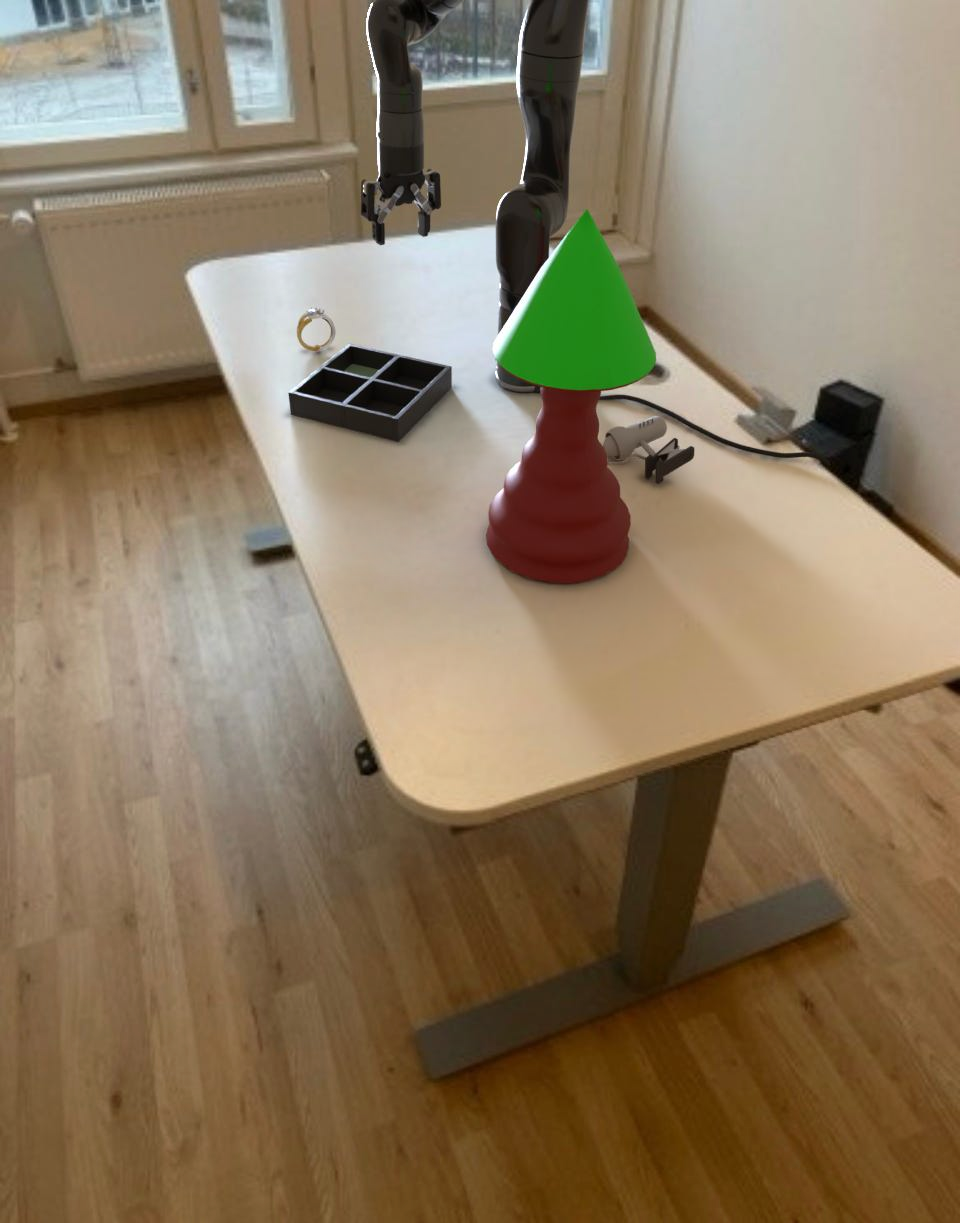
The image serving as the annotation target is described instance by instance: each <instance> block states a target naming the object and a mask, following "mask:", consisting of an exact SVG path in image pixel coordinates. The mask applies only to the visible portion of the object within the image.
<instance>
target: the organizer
mask: <svg viewBox="0 0 960 1223" xmlns="http://www.w3.org/2000/svg"><path fill="white" fill-rule="evenodd" d="M452 369H453V368H452V366H451V365H447V364H442V363H439V362H434V361H429V360H425V359H421V358H415V357H411V356H407V355H402V354H398V353H393V352H388V351H384V350H380V349H375V348H371V347H367V346H362V345H357V344H353V343H348V344H347V345H346V346H344V347H343V348H342V349H341V350H339V351H338V352H337V353H336V354H334V355H333V356H332V357H330V358H329V359H328V360H327V361H326V362H324V363H323V364H322V365H321V366H319V367H318V368H316V370H314V371H313V372H311V374H310V375H308V376H307V377H306V378H304V379H303V380H302V381H301V382H299V383H298V384H297V385H296V386H295V387H293V388H292V389H291V390H289V391H288V392H287V393H288V402H289V410H290V416H294V417H298V418H302V419H305V420H309V421H314V422H318V423H322V424H326V425H330V426H333V427H336V428H337V427H338V428H341V429H346V430H349V431H353V432H357V433H361V434H364V435H365V434H366V435H369V436H372V437H375V438H381V439H385V440H388V441H393V442H396V443H399V442H401V441H402V439H404V438H405V436H406V435H407V434H408V433H409V432H410V431H412V429H413V428H414V427H415V426H416V425H417V424H419V422H420V421H421V420H422V419H423V418H424V417H425V416H426V415H428V413H429V412H430V411H431V410H432V409H433V408H434V407H435V406H436V405H437V404H438V403H439V402H440V401H441V400H442V399H443V398H444V397H445V395H447V394H448V393H449V392H450V391H451V390H452V389H453V386H452V384H453V383H452V382H453V376H452V375H453V372H452V371H453V370H452Z"/></svg>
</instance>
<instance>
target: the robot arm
mask: <svg viewBox="0 0 960 1223" xmlns="http://www.w3.org/2000/svg"><path fill="white" fill-rule="evenodd" d="M463 2H465V0H373V2H372V3H371V4H370V7H369V9H368V12H367V18H366V36H367V41H368V45H369V46H368V47H369V50H370V54H371V58H372V62H373V67H374V70H375V74H376V77H377V116H376V117H377V118H376V139H377V141H376V143H377V144H376V145H377V146H376V147H377V166H378V167H377V168H378V177H377V179H376V180H367V179H366V178H365V179H362V180H361V182H360V216H361V217H362V218H364V219H365V220H366V221H368V222H371V235H372V236H371V237H372V240H373V241H375V243H376V244H378V245H379V246H384V245H385V244H386V232H385V230H386V229H385V228H386V227H385V225H386V224H385V220H386V218H387V216H388V214H389V213H391V212H392V211H393V209H394V207H400V206H403V205H404V204H406V205H410V204H411V205H412V204H413V203H414V204H415V205H416V207H417V208H418V210H419V211H417V233H418V235H419V236H421V237H422V238H425V237H428V236H429V233H430V231H431V215H432V213H433V211H435V210H439V209H441V208H442V191H441V189H442V188H441V174H440V173H439V172H437V170H434V169H432V168H428V169H427V170H426V171H423V170H424V168H425V120H424V109H423V93H424V92H423V91H424V90H423V89H424V88H423V87H424V86H423V75H422V71H421V69H420V68H419V67H418V66H416V65H414V64H413V63H411V62H410V56H409V51H408V50H409V46H413V45H416V44H418V43H420V42H422V41H423V40H425V39H426V38H427V37H428V36H430V35H431V34H432V33H433V32H434V31H435V30H436V29H437V27H438V26H439V25H440V24H441V23H442V22H443V21H444V20H445V18H446V17H447V15H448V14H449V13H450V12H452V11H454V10H455V9H456V8H457V7H459V6H460V5H461V4H463ZM526 8H527V9H526V11H525V15H524V18H523V21H522V25H521V27H520V28H521V29H520V33H519V38H518V39H519V40H518V48H517V63H516V73H515V74H516V76H515V78H516V79H515V84H516V85H515V86H516V96H517V102H518V107H519V111H520V115H521V117H522V122H523V127H524V133H525V134H524V135H525V151H524V161H523V167H522V173H521V177H520V182H519V184H517V185H515V187H513V188H512V189H510V190H509V191H507V192H506V193H505V194H504V195H503V196H502V197H501V199H500V200H499V202H498V205H497V209H496V216H495V265H496V269H497V271H498V274H499V297H498V298H499V299H498V318H497V319H498V322H497V324H498V325H497V336H498V335H499V333H500V332H501V330H502V329H503V327H504V326H505V324H506V322H507V321H508V319H509V318H510V316H511V315H512V313H513V311H514V310H515V308H516V307H517V305H518V304H519V302H520V300H521V299H522V297H523V296H524V294H525V293H526V291H527V289H528V288H529V286H530V285H531V283H532V281H533V280H534V278H535V277H536V275H537V274H538V272H539V270H540V269H541V267H542V266H543V265H544V263H545V262H546V261H547V259H548V258H549V257H550V240H551V238H552V237H553V236H554V235H556V234H557V233H558V232H559V231H560V230H561V229H562V227H563V225H564V224H565V222H566V221H567V217H568V214H569V202H570V163H571V161H570V160H571V148H572V147H571V145H572V138H573V132H574V125H575V118H576V110H577V102H578V101H577V100H578V96H579V95H578V94H579V88H580V81H581V75H582V65H583V56H584V48H585V35H586V26H587V18H588V17H587V16H588V10H589V0H529V2H528V5H527V7H526ZM424 184H425V185H426V194H427V195H426V196H427V198H426V197H425V196H424V194H423V192H422V191H421V190H422V188H423V186H424ZM378 191H380V193H379V195H378ZM377 195H378V196H377ZM375 196H377V198H376V197H375ZM375 198H376V200H375ZM494 360H495V362H496V371H495V381H496V383H497V385H499V386H500V387H501V388H502V389H506V390H508V391H511V392H517V393H532V392H535V393H541V391H540V388H541V387H539V386H536V385H532V384H529V383H527V382H524V381H522V380H519V379H517V378H516V377H514V376H512V375H511V374H509V373H507V372H506V371H505V370H504V369H503V368H502V367H501V366H500V365H499V364H498V362H497V361H496V359H495V358H494ZM611 400H627V401H629V402H630V401H631V402H635V403H638V404H640V405H641V404H642V405H644V406H647V407H649V408H651V409H653V410H655V411H658V412H660V413H663V414H664V415H667V416H669V417H671V418H672V419H674V420H675V421H678V422H680V423H681V424H682V425H685V426H687V427H689V428H690V429H692V430H694V431H696V432H698V433H700V434H702V435H704V436H706V437H707V438H710V439H712V440H714V441H716V442H718V443H720V444H723V445H726V446H729V447H731V448H734V449H737V450H740V451H745V452H748V453H751V454H752V453H753V454H757V455H762V456H768V457H773V458H779V459H780V458H781V459H795V458H797V459H798V458H812V459H816V460H819V462H821V463H823V465H824V466H826V467H831V466H832V464H831V462H830V461H829V460H828V459H827V458H826V457H825V456H823V455H821V454H820V453H817V452H812V451H800V452H777V451H771V450H766V449H761V448H757V447H752V446H748V445H744V444H741V443H737V442H734V441H731V440H729V439H726V438H724V437H721V436H719V435H717V434H715V433H712V432H711V431H709V430H707V429H705V428H703V427H701V426H700V425H696V423H693V422H692V421H689V420H688V419H686V418H684V417H682V416H681V415H679V414H677V413H675V412H673V411H671V410H669V409H667V408H666V407H663V406H661V405H658V404H656V403H653V402H652V401H649V400H646V399H643V398H641V397H637V396H633V395H629V394H609V395H600V399H599V401H611Z"/></svg>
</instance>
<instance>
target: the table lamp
mask: <svg viewBox="0 0 960 1223" xmlns="http://www.w3.org/2000/svg"><path fill="white" fill-rule="evenodd" d="M492 345H493V346H492V353H493V357H494V360H495V359H496V361H495V362H496V363H497V362H498V364H499V365H500V366H501V367H502V368H503V369H504V370H505V371H506V372H507V373H509V374H511V375H512V376H514V377H516V378H517V379H519V380H522V381H524V382H527V383H529V384H532V385H536V386H539V387H541V388H540V391H541V392H540V396H541V401H542V405H541V408H540V410H539V413H538V414H537V417H536V421H535V433H534V435H533V436H532V437H531V438H530V439H529V440H528V441H527V442H526V444H525V445H524V447H523V449H522V453H521V459H520V460H519V461H518V462H517V463H515V464H514V465H513V466H512V468H510V469H509V471H508V472H507V473H506V475H505V478H504V481H503V487H502V488H501V489H500V490H499V491H498V492H497V493H496V494H495V495H494V496H493V498H492V500H491V502H490V504H489V508H488V521H489V524H488V526H487V527H486V528H487V529H486V534H485V538H486V545H487V548H488V549H489V551H490V553H491V554H492V555H493V556H494V558H495V559H496V560H497V561H498V562H499V563H500V564H502V566H505V567H506V568H507V569H508V570H510V571H512V572H514V573H516V574H517V575H519V576H521V577H525V578H527V579H531V580H534V581H540V582H545V583H553V584H554V583H555V584H578V583H582V582H584V583H585V582H588V581H591V580H594V579H597V578H600V577H602V576H604V575H607V574H608V573H610V572H613V571H614V570H615V569H616V568H618V567H619V566H620V565H621V564H622V563H623V562H624V560H625V558H626V557H627V554H628V551H629V548H630V539H629V536H628V534H629V532H630V528H631V526H632V523H631V522H632V521H631V520H632V519H631V517H632V516H631V513H630V510H629V508H628V506H627V503H626V502H625V501H624V500H623V498H622V497H621V485H620V482H619V480H618V478H617V476H616V475H615V474H614V473H613V471H612V470H611V469H610V468H609V467H608V466H609V465H608V462H609V460H608V455H607V454H606V451H605V449H604V447H603V443H601V441H600V439H599V433H600V419H599V416H598V413H597V406H598V403H599V401H600V400H599V399H600V396H602V392H606V391H613V390H617V389H621V388H624V387H628V386H630V385H633V384H635V383H638V382H640V381H641V380H643V379H644V378H645V377H647V376H648V375H649V373H650V372H651V371H653V369H654V367H655V364H656V363H657V352H656V350H655V347H654V345H653V342H652V340H651V338H650V334H649V333H648V331H647V328H646V326H645V324H644V321H643V319H642V316H641V314H640V312H639V310H638V307H637V305H636V303H635V300H634V298H633V295H632V293H631V290H630V288H629V285H628V283H627V281H626V279H625V276H624V274H623V272H622V271H621V268H620V267H619V265H618V263H617V261H616V258H615V257H614V255H613V253H612V251H611V249H610V246H609V245H608V243H607V242H606V240H605V238H604V236H603V235H602V233H601V231H600V230H599V227H598V226H597V224H596V222H595V220H594V218H593V216H592V214H591V213H590V211H589V210H588V208H586V209H585V210H584V212H583V213H582V214H581V215H580V217H579V218H578V219H577V221H576V222H575V223H574V225H572V227H571V228H570V229H569V230H568V232H566V234H565V235H564V237H563V238H562V240H561V241H560V242H559V244H558V245H557V246H556V247H555V249H554V250H553V251H552V253H550V254H549V258H548V259H547V261H546V262H545V263H544V265H543V266H542V267H541V269H540V270H539V272H538V274H537V275H536V277H535V278H534V280H533V281H532V283H531V285H530V286H529V288H528V289H527V291H526V293H525V294H524V296H523V297H522V299H521V300H520V302H519V304H518V305H517V307H516V308H515V310H514V311H513V313H512V315H511V316H510V318H509V319H508V321H507V322H506V324H505V326H504V327H503V329H502V330H501V332H500V333H499V335H498V334H497V336H496V338H495V340H494V341H493V344H492Z"/></svg>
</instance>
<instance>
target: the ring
mask: <svg viewBox="0 0 960 1223" xmlns="http://www.w3.org/2000/svg"><path fill="white" fill-rule="evenodd" d="M321 310H322V311H321ZM317 319H322V320H324V321H326V322H327V324H328V325H329V327H330V335H329V338H328V339H327V341H326V342H324V343H323V344H321V345H319V344H315V345H314V346H312V345H309V344H307V343H306V342H305V341H304V340H303V338H302V333H303V330H304V329H305V327H306V326H308V325H309V324H310V323H312V322H313V320H317ZM296 337H297V340H298V342H299V344H300V345H301V347H303V348H304V349H305V350H308V351H310V352H315V353H320V352H322V351H325V350H326V349H328V348H329V347H330V346H331V345H332V344H333V342H334V340H335V337H336V326H335V323H334V321H333V320H332V318H331V317H330V316H328V315H327V314H325V309H321V308H317V307H315V308H313V307H310V309H309V310H306V312H304V313H303V314H302V315H301V316H300V318H299V320H298V322H297V324H296Z"/></svg>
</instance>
